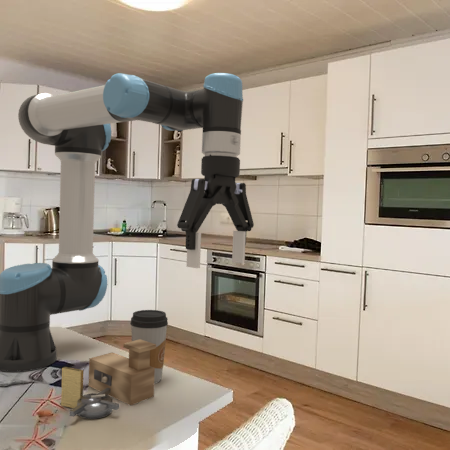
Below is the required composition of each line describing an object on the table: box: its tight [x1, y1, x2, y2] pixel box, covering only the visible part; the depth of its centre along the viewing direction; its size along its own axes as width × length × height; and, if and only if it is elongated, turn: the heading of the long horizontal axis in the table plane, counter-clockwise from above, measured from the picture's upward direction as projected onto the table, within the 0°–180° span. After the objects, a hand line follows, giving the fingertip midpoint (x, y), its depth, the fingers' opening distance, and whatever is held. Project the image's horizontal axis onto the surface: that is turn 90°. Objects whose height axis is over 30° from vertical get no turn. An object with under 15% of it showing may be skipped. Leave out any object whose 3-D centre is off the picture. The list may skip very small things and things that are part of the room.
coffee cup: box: [130, 309, 169, 385], centre depth 106 cm, size 8×8×15 cm
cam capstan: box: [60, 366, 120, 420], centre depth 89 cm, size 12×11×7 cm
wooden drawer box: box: [88, 339, 156, 406], centre depth 99 cm, size 14×7×11 cm, turn 50°
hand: (216, 264), depth 93 cm, fingers open, 13 cm apart
